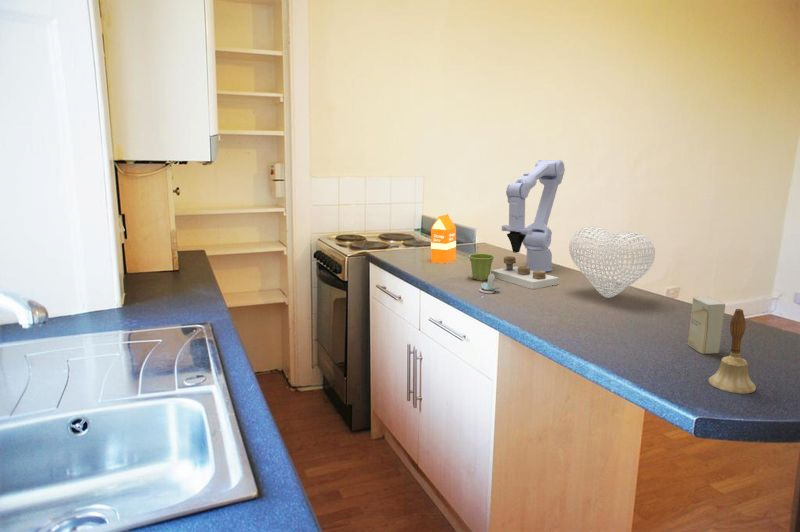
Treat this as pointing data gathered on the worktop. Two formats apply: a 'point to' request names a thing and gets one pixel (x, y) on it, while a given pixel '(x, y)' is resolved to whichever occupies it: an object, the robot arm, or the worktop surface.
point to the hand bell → (734, 362)
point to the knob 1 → (509, 262)
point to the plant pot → (481, 265)
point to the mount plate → (524, 278)
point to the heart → (606, 242)
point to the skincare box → (706, 325)
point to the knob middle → (523, 270)
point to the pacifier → (490, 284)
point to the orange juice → (443, 240)
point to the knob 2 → (539, 274)
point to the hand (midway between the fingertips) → (516, 252)
